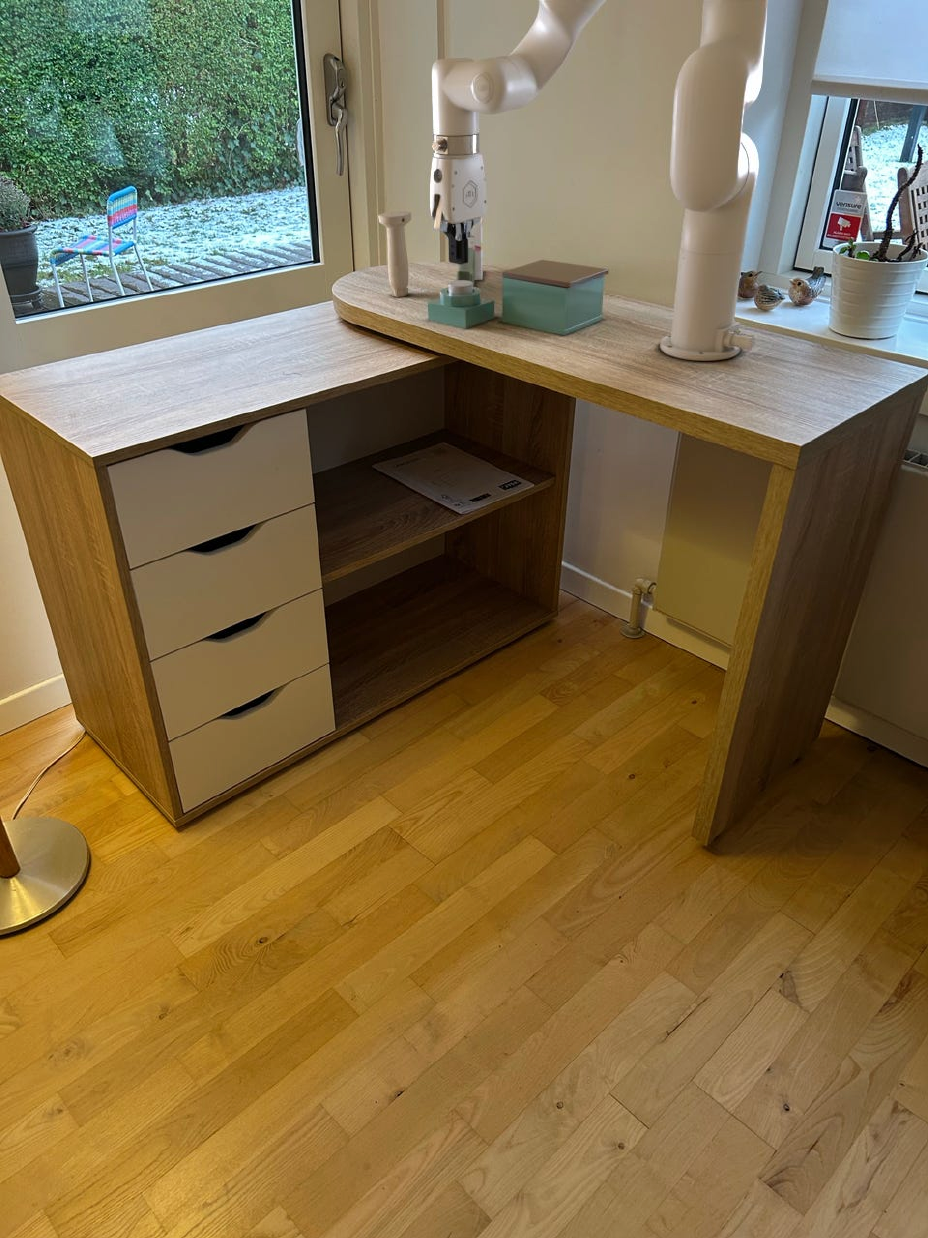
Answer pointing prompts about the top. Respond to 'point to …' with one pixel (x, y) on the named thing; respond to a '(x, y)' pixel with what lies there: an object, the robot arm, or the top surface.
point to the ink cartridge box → (477, 248)
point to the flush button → (460, 287)
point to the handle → (397, 250)
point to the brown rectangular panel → (555, 273)
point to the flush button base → (461, 309)
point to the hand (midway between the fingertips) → (458, 262)
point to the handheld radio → (467, 268)
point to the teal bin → (552, 305)
